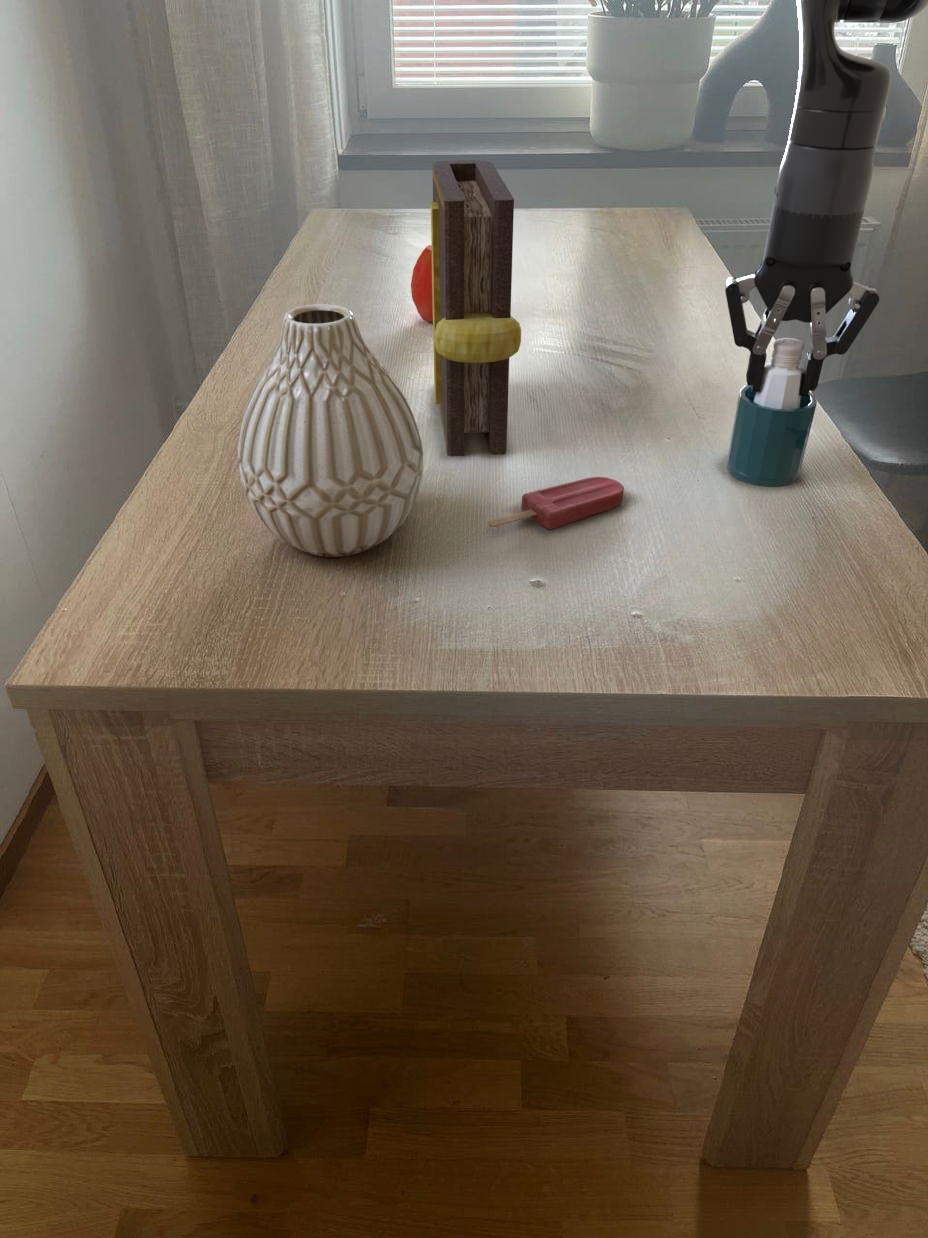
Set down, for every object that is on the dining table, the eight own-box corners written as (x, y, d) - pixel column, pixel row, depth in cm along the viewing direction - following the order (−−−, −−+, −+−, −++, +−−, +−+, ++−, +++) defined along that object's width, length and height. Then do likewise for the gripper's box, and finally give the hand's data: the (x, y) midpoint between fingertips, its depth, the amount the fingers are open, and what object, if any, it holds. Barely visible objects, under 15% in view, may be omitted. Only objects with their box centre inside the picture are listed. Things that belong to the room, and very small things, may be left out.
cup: (807, 465, 95) (825, 391, 91) (786, 493, 91) (804, 416, 86) (740, 448, 99) (754, 376, 94) (716, 474, 94) (729, 400, 89)
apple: (467, 309, 136) (468, 233, 130) (469, 327, 130) (470, 248, 124) (412, 309, 136) (409, 233, 130) (411, 328, 130) (408, 248, 123)
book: (426, 386, 113) (420, 160, 98) (495, 383, 113) (500, 159, 98) (438, 468, 95) (434, 208, 80) (520, 465, 95) (531, 206, 81)
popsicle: (476, 506, 85) (604, 470, 91) (475, 522, 86) (603, 486, 92) (503, 527, 81) (634, 488, 88) (502, 544, 82) (632, 504, 89)
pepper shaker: (789, 438, 95) (813, 332, 89) (799, 462, 91) (825, 352, 84) (735, 436, 95) (755, 330, 89) (743, 459, 91) (764, 350, 85)
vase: (322, 477, 93) (301, 274, 81) (457, 517, 87) (456, 302, 75) (212, 549, 82) (170, 325, 70) (358, 600, 75) (339, 363, 64)
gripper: (735, 206, 78) (703, 399, 88) (914, 215, 75) (860, 413, 85) (734, 188, 84) (705, 371, 94) (900, 195, 81) (851, 383, 91)
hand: (779, 390), depth 89 cm, fingers closed on pepper shaker, 4 cm apart
